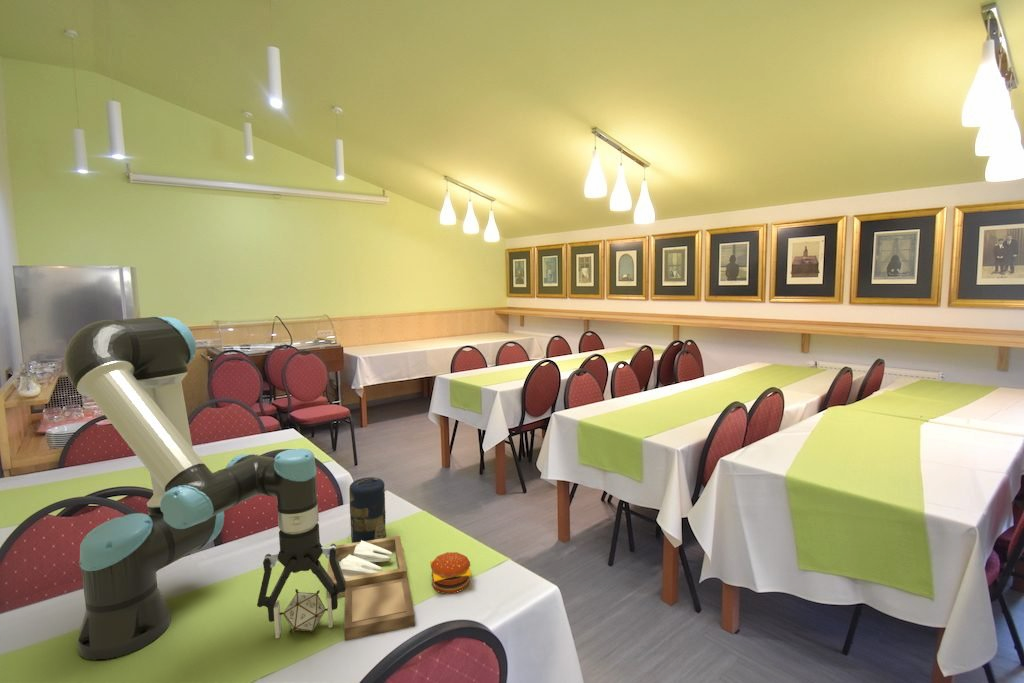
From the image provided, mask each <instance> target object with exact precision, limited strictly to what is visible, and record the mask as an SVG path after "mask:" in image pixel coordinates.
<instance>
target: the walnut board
mask: <svg viewBox="0 0 1024 683" xmlns="http://www.w3.org/2000/svg"><path fill="white" fill-rule="evenodd" d="M415 617H416V615H415V610H414V604H413V599H412V594H411V589H410V584H409V579H408V577H407V578H404V579H398V580H392V581H387V582H381V583H376V584H370V585H364V586H359V587H353V588H348V589H346V590H345V596H344V628H343V630H344V641H349V640H353V639H358V638H362V637H368V636H372V635H376V634H382V633H387V632H391V631H396V630H401V629H406V628H410V627H409V626H411V627H414V626H413V625H415V626H416V618H415ZM405 627H406V628H405Z"/></svg>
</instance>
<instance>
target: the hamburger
mask: <svg viewBox="0 0 1024 683" xmlns="http://www.w3.org/2000/svg"><path fill="white" fill-rule="evenodd" d="M429 563H430V568H431V577H432V579H431V585H432V588H433V587H434V588H433V589H434V590H435V591H436V590H437V592H438V591H439V593H441V592H444V593H443V594H446V593H449V594H455V593H454V592H456V593H458V592H457V591H459V592H461V591H460V590H462V589H463V590H465V589H466V588H467V587H468V586H469V584H470V577H472V572H471V568H470V567H471V561H470V560H469V558H468V556H466V555H464V554H462V553H459V552H457V551H456V552H455V551H454V552H453V551H452V552H449V551H448V552H444V553H442V554H439V555H437V556H436V557H435V558H434V559H433V560H430V561H429ZM467 585H468V586H467ZM465 587H466V588H465ZM464 588H465V589H464ZM463 590H462V591H463Z"/></svg>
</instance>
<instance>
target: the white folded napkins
mask: <svg viewBox="0 0 1024 683" xmlns="http://www.w3.org/2000/svg"><path fill="white" fill-rule="evenodd" d="M353 555H354V556H353ZM353 555H350V554H349V555H348V556H347V557H346V558H344V559H342V560H340V561H339V565H340V567H341V570H342V573H343V576H344V578H347V577H353V576H358V575H364V574H370V573H376V572H382V571H384V570H383V567H382V566H379V565H377V564H376V563H384V562H387V561H391V559H392V558H391V557H390V556H393V555H394V552H390V551H388V550H386V549H383V548H381V547H378V546H376V545H373V544H370V543H368V542H365V541H362V540H361V542H360V544H357V546H356V547H355V550H354V554H353Z"/></svg>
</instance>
